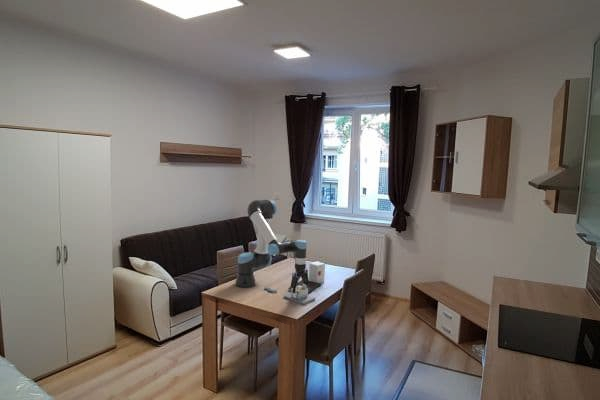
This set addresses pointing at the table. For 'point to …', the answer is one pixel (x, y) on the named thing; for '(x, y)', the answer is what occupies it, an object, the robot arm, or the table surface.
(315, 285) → the hardcover book
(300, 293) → the square tube segment
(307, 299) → the keeper
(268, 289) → the chain tail
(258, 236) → the robot arm
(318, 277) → the supplement box
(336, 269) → the table surface
